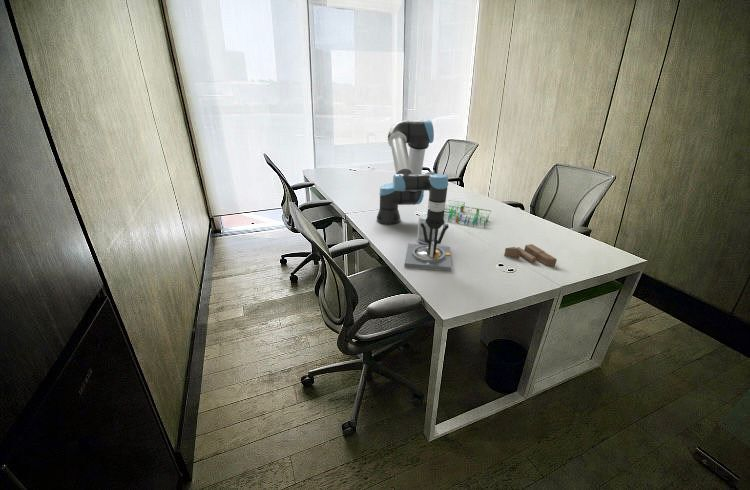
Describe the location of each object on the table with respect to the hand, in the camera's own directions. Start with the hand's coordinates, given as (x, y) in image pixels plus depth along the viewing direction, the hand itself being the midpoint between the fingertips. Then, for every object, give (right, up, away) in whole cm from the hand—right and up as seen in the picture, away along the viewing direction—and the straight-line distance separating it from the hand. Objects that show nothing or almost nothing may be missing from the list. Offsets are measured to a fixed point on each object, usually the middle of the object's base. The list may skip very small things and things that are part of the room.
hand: (431, 255), depth 159 cm
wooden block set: (+50, -3, +7) cm, 50 cm away
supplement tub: (+1, +7, +26) cm, 27 cm away
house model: (+31, +24, +63) cm, 74 cm away
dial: (0, 0, +6) cm, 6 cm away
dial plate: (0, -2, +8) cm, 8 cm away
